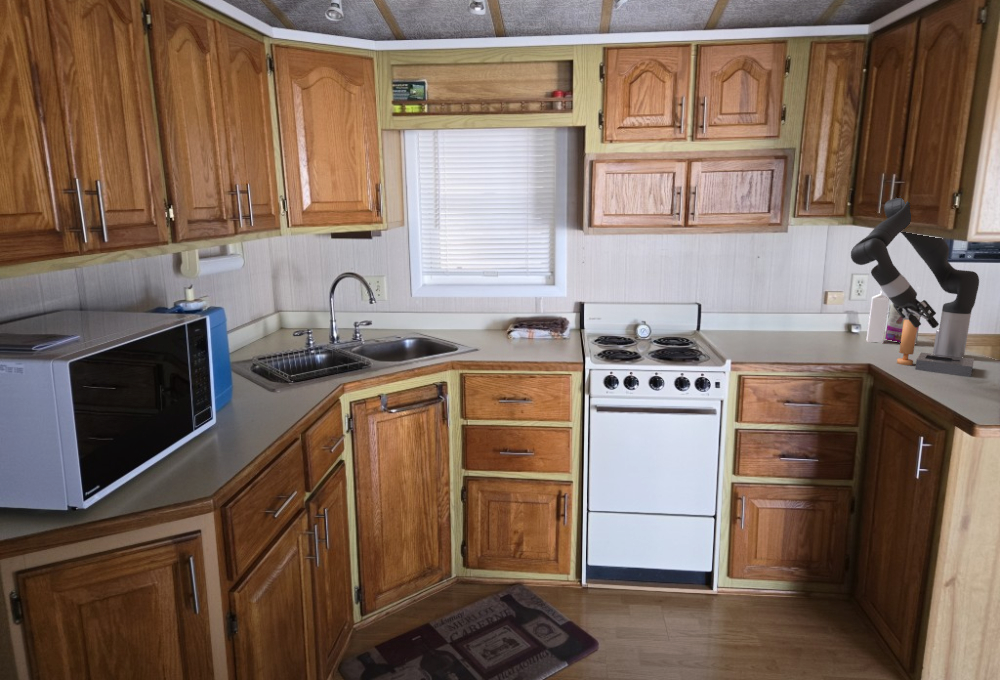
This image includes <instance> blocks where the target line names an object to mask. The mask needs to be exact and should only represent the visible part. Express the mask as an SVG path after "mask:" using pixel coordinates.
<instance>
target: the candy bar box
mask: <svg viewBox="0 0 1000 680" xmlns="http://www.w3.org/2000/svg"><path fill="white" fill-rule="evenodd" d="M893 305H894V304H893V303H892V302H891V303H889V307H888V308H889V309H888V314H887V322H886V329H885V332H886V333H885V337H884V338H885V339H887V340H892V341H897V342H901V336H902V329H903V322H904V320H907V319H906V318H902V317H901V316H900V315H899V313H898V312H897V310H896V309H895V308H894V306H893ZM921 312H922V311H920V312H919V313H921ZM902 313H903V314H904V312H903V311H902ZM913 316H916V318H917V319H918V320H919V321H920V322H921V317H919V316H917V315H916V314H914V315H913ZM919 327H920V326H919ZM919 327H917V332H916V339H915V343H918V336H919V329H920V328H919ZM885 339H884V340H885Z"/></svg>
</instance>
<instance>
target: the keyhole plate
mask: <svg viewBox="0 0 1000 680" xmlns="http://www.w3.org/2000/svg"><path fill="white" fill-rule="evenodd" d="M974 360H975V358H969V357H964V358H962V357H954V356H946V355H938V354H933V353H928V352H920V354H919V355H918V357H917V359H916V362H915V368H914V369H915V370H918V371H926V372H931V373H940V374H945V375H946V374H947V375H954V376H963V377H967V378H971V377H972V372H973V369H974V368H973V367H974V362H975V361H974Z"/></svg>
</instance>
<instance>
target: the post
mask: <svg viewBox="0 0 1000 680" xmlns="http://www.w3.org/2000/svg"><path fill="white" fill-rule="evenodd" d="M916 332H917V328H915V327H914V326H913V325H912V323H911V322H910V321H909V320H904V322H903V329H902V336H901V343H899V351H898V353H900V354H903V355H902V357H900V358H899V357H898V358H897V359H896V364H898V365H900V366H901V365H902V366H913V364H914V359H912V358H911V359H909V355H914V353H915V339H916Z"/></svg>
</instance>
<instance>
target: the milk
mask: <svg viewBox="0 0 1000 680" xmlns="http://www.w3.org/2000/svg"><path fill="white" fill-rule="evenodd" d="M879 292H880V293H879V294H876V295H873V296H871V301H870V308H869V317H868V324H867V332H866V338H865V339H866V342H867V343H871V342H880V343H879V344H882V343H883V344H884V341H885V339H884V338H885V334H886V333H885V332H886V326H887V319H888V312H889V309H888V308H889V304H890V303H889V302H890V299H889V298H888V296H885V295H884V294H883V290H880V291H879Z"/></svg>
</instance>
